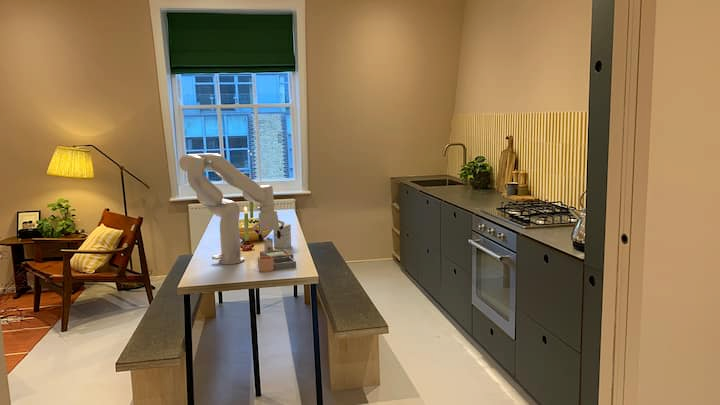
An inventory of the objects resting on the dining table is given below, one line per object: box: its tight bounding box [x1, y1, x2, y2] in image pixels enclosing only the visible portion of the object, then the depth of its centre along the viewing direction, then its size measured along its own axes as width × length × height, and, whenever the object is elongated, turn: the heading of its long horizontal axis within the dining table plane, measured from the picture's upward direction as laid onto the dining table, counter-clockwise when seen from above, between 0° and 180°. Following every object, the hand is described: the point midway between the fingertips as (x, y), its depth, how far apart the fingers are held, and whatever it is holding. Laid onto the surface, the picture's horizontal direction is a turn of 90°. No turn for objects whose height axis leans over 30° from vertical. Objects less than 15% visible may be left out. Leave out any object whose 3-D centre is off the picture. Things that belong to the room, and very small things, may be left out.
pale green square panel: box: [266, 251, 285, 256], centre depth 279 cm, size 9×9×1 cm
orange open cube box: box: [257, 256, 275, 273], centre depth 258 cm, size 6×6×6 cm
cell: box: [263, 237, 274, 251], centre depth 289 cm, size 4×4×9 cm
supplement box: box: [272, 223, 292, 249], centre depth 304 cm, size 7×7×13 cm
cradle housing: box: [259, 248, 295, 260], centre depth 279 cm, size 14×14×3 cm
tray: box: [273, 256, 297, 271], centre depth 265 cm, size 11×11×3 cm
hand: (269, 239), depth 289 cm, fingers open, 9 cm apart
